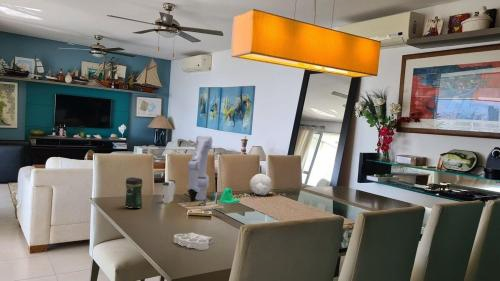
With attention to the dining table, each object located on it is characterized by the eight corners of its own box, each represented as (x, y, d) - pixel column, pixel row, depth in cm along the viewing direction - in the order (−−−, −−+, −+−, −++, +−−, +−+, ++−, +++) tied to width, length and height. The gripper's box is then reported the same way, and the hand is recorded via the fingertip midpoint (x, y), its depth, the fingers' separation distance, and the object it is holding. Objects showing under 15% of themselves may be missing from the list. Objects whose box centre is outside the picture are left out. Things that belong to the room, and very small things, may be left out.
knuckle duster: (218, 244, 175) (198, 253, 163) (188, 236, 184) (166, 244, 172) (219, 237, 175) (198, 245, 162) (188, 230, 184) (166, 237, 172)
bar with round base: (185, 205, 239) (185, 201, 239) (203, 203, 246) (203, 199, 246) (189, 207, 235) (189, 203, 235) (207, 205, 242) (207, 201, 242)
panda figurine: (164, 201, 255) (164, 179, 255) (180, 203, 253) (181, 180, 252) (156, 205, 244) (156, 181, 243) (173, 207, 241) (173, 183, 240)
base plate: (177, 205, 245) (177, 199, 245) (207, 202, 257) (207, 196, 257) (191, 213, 228) (192, 206, 227) (224, 209, 240) (224, 203, 240)
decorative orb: (259, 191, 305) (260, 171, 304) (278, 194, 295) (279, 174, 294) (244, 194, 289) (244, 173, 288) (263, 198, 279) (264, 176, 278)
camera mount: (227, 206, 250) (228, 190, 249) (219, 204, 255) (220, 188, 254) (240, 203, 259) (240, 188, 258) (232, 201, 264) (232, 187, 263)
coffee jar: (144, 208, 235) (145, 177, 234) (134, 210, 229) (135, 179, 227) (132, 205, 240) (133, 176, 239) (122, 208, 233) (123, 177, 232)
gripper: (182, 178, 248) (181, 199, 248) (192, 182, 236) (192, 204, 236) (192, 177, 252) (191, 198, 252) (203, 181, 240) (202, 203, 240)
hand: (192, 201), depth 245 cm, fingers closed
